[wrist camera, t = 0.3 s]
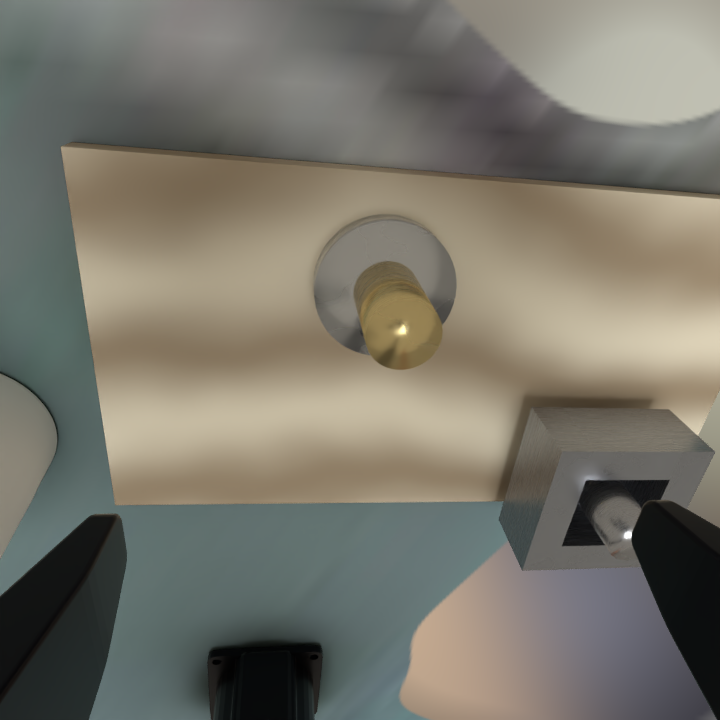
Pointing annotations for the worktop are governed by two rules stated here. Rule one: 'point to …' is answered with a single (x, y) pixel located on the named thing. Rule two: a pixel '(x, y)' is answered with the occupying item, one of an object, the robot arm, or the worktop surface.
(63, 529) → the worktop surface
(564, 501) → the grey square frame
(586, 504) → the stand
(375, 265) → the hub
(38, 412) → the mug
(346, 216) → the board
